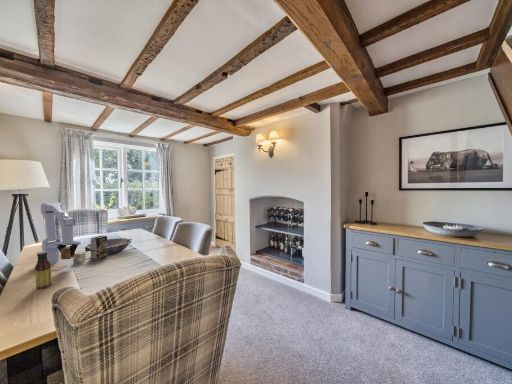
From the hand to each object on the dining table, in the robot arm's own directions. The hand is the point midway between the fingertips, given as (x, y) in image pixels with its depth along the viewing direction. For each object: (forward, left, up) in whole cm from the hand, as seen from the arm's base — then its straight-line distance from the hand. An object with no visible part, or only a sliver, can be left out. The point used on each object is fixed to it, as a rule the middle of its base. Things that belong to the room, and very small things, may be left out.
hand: (68, 255), depth 145 cm
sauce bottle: (+5, -26, -10) cm, 28 cm away
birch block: (0, +11, -9) cm, 14 cm away
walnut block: (0, 0, -2) cm, 2 cm away
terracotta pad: (-7, 0, -9) cm, 12 cm away
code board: (-3, +5, -9) cm, 11 cm away
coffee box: (+7, +23, -10) cm, 26 cm away
